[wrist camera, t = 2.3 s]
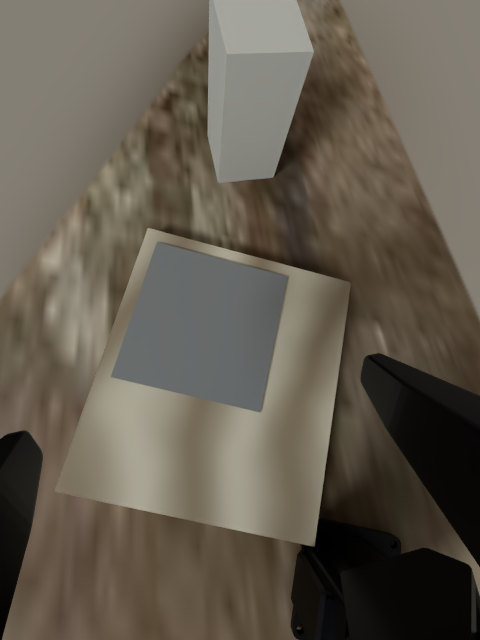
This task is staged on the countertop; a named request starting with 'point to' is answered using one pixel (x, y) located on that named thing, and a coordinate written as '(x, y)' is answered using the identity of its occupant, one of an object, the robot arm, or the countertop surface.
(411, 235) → the countertop surface
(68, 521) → the countertop surface
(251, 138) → the grey post
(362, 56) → the countertop surface
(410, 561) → the robot arm
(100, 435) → the board
